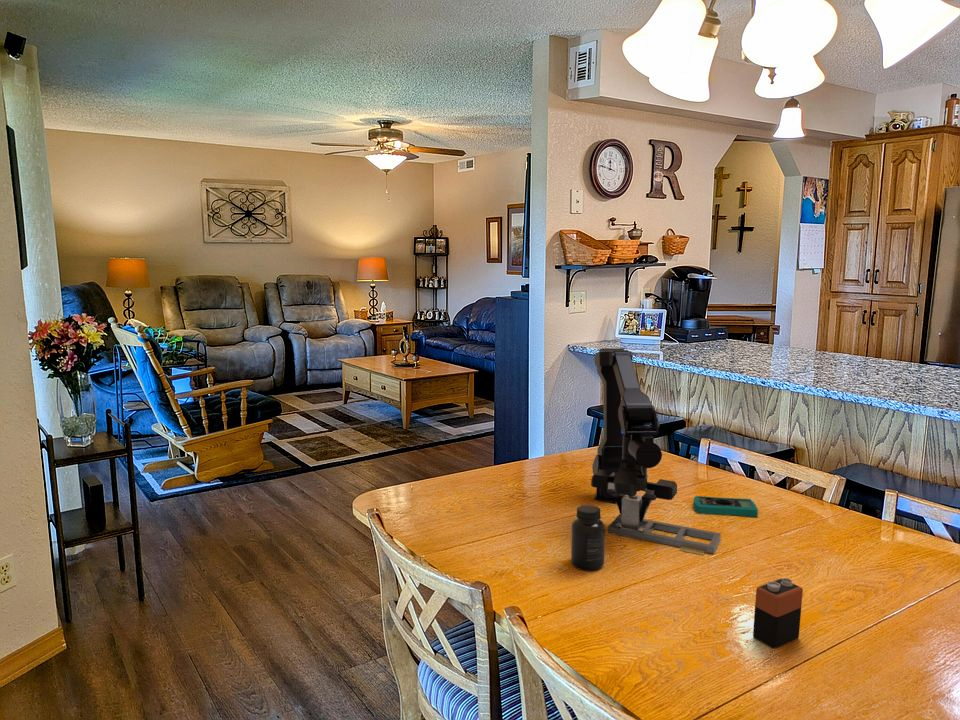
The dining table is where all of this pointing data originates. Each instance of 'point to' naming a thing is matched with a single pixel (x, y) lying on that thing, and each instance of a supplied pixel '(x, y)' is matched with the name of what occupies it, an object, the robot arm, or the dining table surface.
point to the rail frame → (677, 541)
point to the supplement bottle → (588, 539)
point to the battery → (777, 612)
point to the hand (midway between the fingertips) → (632, 519)
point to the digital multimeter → (725, 506)
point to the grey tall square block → (631, 512)
